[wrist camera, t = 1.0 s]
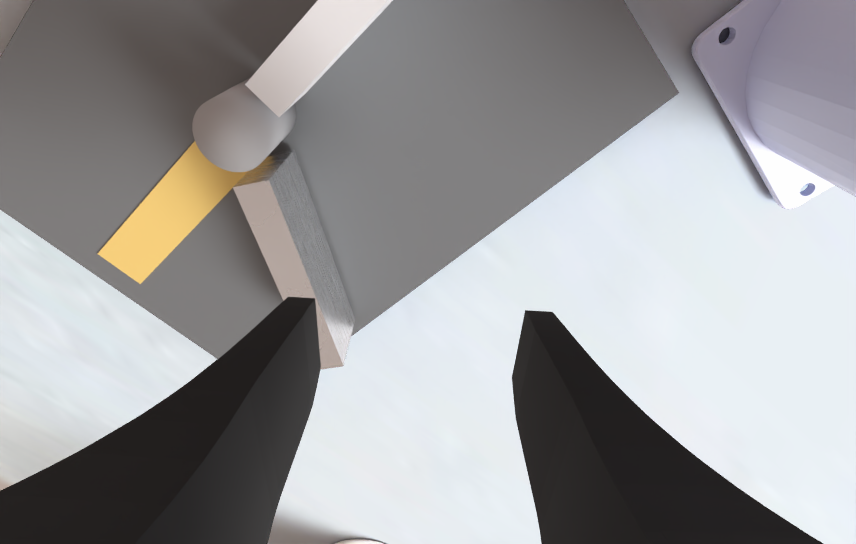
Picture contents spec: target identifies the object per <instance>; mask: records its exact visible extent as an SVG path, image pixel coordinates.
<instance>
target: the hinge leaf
mask: <svg viewBox="0 0 856 544" xmlns="http://www.w3.org/2000/svg"><path fill="white" fill-rule="evenodd" d="M233 189H234V191H235V194H236V196H237V198H238V200H239V203H240V205H241V207H242V209H243V211H244V214H245V216H246V218H247V220H248V223H249V225H250V227H251V229H252V232H253V234H254V236H255V238H256V241H257V243H258V245H259V247H260V250H261V252H262V254H263V256H264V258H265V261H266V263H267V265H268V267H269V270H270V272H271V274H272V276H273V279H274V281H275V283H276V285H277V288H278V290H279V292H280V294H281V297H282V299H283V301H284V300H285V299H286V298H287V297H302V298H315V302H316V314H317V326H318V338H319V350H320V362H321V368H320V369H327V368H334V367H341V366H344V362H345V358H346V354H347V350H348V346H349V342H350V338H351V334H352V330H353V326H354V322H355V317H354V315H353V312H352V309H351V306H350V303H349V301H348V298H347V295H346V292H345V290H344V287H343V284H342V281H341V279H340V276H339V273H338V270H337V267H336V265H335V262H334V259H333V256H332V254H331V251H330V248H329V245H328V243H327V240H326V237H325V234H324V231H323V229H322V226H321V223H320V220H319V218H318V215H317V212H316V209H315V207H314V204H313V201H312V198H311V195H310V193H309V190H308V187H307V184H306V182H305V179H304V176H303V173H302V171H301V168H300V165H299V162H298V159H297V157H296V154H295V151H294V150H290V151H286V152H281V153H276V154H271V155H268V156H267V157H266V158H265V159H264V160H263V161H262V163H261V164H259V165H258V166H257V167H256V168H254V169H252V170H250V171H248V172H247V173H246V174H245V175H244V176H243V177H242V178H241V179H240V180H239V181H238V182H237V183H236V185H235V186H234V187H233Z"/></svg>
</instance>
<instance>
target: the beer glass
mask: <svg viewBox="0 0 856 544" xmlns="http://www.w3.org/2000/svg"><path fill="white" fill-rule="evenodd" d="M334 544H384V543H381V542H378V541H373V540H366V539H350V540H344V541H340V542H337V543H334Z"/></svg>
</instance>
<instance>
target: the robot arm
mask: <svg viewBox="0 0 856 544" xmlns="http://www.w3.org/2000/svg"><path fill="white" fill-rule="evenodd" d="M727 27H728V28H729V31H730V34H729V37H728V38H727V40H726V41H725V42H723V43H719V35H720V33H721V32H722V30H723V29H725V28H727ZM692 55H693V58H694V59H695V61H696V63H697V65H698V67H699V68H700V70H701V72H702V74H703V75H704V77H705V79H706V81H707V82H708V84H709V86H710V88H711V89H712V91H713V93H714V95H715V96H716V98H717V100H718V102H719V103H720V105H721V107H722V109H723V111H724V112H725V114H726V116H727V118H728V119H729V121H730V123H731V125H732V126H733V128H734V130H735V132H736V133H737V135H738V137H739V139H740V140H741V142H742V144H743V146H744V148H745V149H746V151H747V153H748V155H749V156H750V158H751V160H752V162H753V163H754V165H755V167H756V169H757V170H758V172H759V174H760V176H761V177H762V179H763V181H764V183H765V185H766V186H767V188H768V190H769V192H770V193H771V195H772V197H773V199H774V200H775V202H776V203H777V204H778V205H779V206H781V207H782V208H784V209H793V208H796V207H798V206H800V205H801V204H803V203H805V202H807V201H808V200H810V199H812V198H813V197H815V196H817V195H818V194H820V193H822V192H823V191H825V190H827V189H828V188H830V187H832V186H834V185H835V186H837V187H839V188H841V189H842V190H844V191H846V192H848V193H850V194H852V195H854V196H855V197H856V0H743V1H742V2H741V3H739V4H738V5H737V6H735V7H734V8H733V9H732V10H730V11H729V12H728V13H726V14H725V15H724V16H723V17H721V18H720V19H719V20H717V21H716V22H715V23H713V24H712V25H711V26H710V27H708V28H707V29H706V30H704V31H703V32H702V33H701V34H700V35H699V36H698V37H697V38H696V39H695V41H694V43H693V45H692ZM808 183H809V185H808V187H807V188H806V189H805V190H804V191H801V192H800V190H801V188H802V187H803V186H804V185H805V184H808ZM320 368H321V362H320V350H319V338H318V326H317V314H316V302H315V298H302V297H287V298H286V299H285V300H284V301H283V302H282V303H280V304H279V305H278V306H277V307H276V308H275V309H274V310H273V311H272V312H271V313H269V314H268V315H267V316H266V317H265V318H264V319H263V320H262V321H261V322H260V323H259V324H258V325H256V326H255V327H254V328H253V329H252V330H251V331H250V332H249V333H248V334H247V335H245V336H244V337H243V338H242V339H241V340H240V341H238V342H237V343H236V344H235V345H234V346H233V347H232V348H230V349H229V350H228V351H227V352H226V353H225V354H224V355H222V356H221V357H220V358H219V359H218V360H216V361H215V362H214V363H212V364H211V365H210V366H209V367H207V368H206V369H205V370H204V371H202V372H201V373H200V374H199V375H197V376H196V377H195V378H194V379H192V380H191V381H190V382H188V383H187V384H186V385H184V386H183V387H182V388H180V389H179V390H177V391H176V392H174V393H173V394H172V395H170V396H169V397H167V398H166V399H164V400H163V401H161V402H160V403H158V404H157V405H155V406H154V407H152V408H151V409H149V410H148V411H146V412H145V413H143V414H142V415H140V416H138V417H137V418H135V419H134V420H132V421H130V422H129V423H127V424H125V425H123V426H122V427H120V428H118V429H117V430H115V431H113V432H111V433H110V434H108V435H106V436H105V437H103V438H101V439H99V440H98V441H96V442H94V443H93V444H91V445H89V446H87V447H86V448H84V449H82V450H80V451H78V452H77V453H75V454H73V455H71V456H69V457H67V458H65V459H63V460H61V461H60V462H58V463H56V464H54V465H52V466H50V467H48V468H46V469H44V470H42V471H40V472H38V473H36V474H34V475H32V476H30V477H28V478H26V479H24V480H22V481H20V482H18V483H16V484H14V485H12V486H9V487H7V488H5V489H3V490H1V491H0V544H267V543H268V539H269V535H270V531H271V527H272V523H273V519H274V516H275V513H276V509H277V506H278V503H279V500H280V496H281V494H282V491H283V488H284V485H285V482H286V480H287V477H288V474H289V471H290V468H291V465H292V463H293V460H294V457H295V454H296V451H297V449H298V446H299V443H300V440H301V437H302V434H303V432H304V429H305V426H306V423H307V420H308V417H309V414H310V411H311V408H312V405H313V401H314V396H315V392H316V388H317V383H318V378H319V373H320ZM512 382H513V394H514V404H515V414H516V421H517V425H518V430H519V435H520V439H521V444H522V449H523V453H524V458H525V462H526V467H527V471H528V476H529V480H530V484H531V489H532V493H533V498H534V502H535V507H536V511H537V517H538V523H539V528H540V534H541V542H542V544H823V543H821V542H820V541H818V540H816V539H815V538H813V537H811V536H810V535H808V534H807V533H805V532H803V531H802V530H800V529H799V528H797V527H796V526H794V525H793V524H791V523H790V522H788V521H786V520H785V519H783V518H782V517H780V516H779V515H777V514H776V513H774V512H773V511H771V510H770V509H768V508H766V507H765V506H763V505H762V504H761V503H759V502H758V501H756V500H755V499H753V498H752V497H750V496H749V495H747V494H746V493H745V492H743V491H742V490H740V489H739V488H737V487H736V486H735V485H733V484H732V483H731V482H729V481H728V480H727V479H725V478H724V477H723V476H721V475H720V474H718V473H717V472H716V471H714V470H713V469H712V468H710V467H709V466H708V465H706V464H705V463H704V462H702V461H701V460H700V459H699V458H697V457H696V456H695V455H693V454H692V453H691V452H690V451H688V450H687V449H686V448H685V447H683V446H682V445H681V444H680V443H679V442H678V441H676V440H675V439H674V438H673V437H672V436H671V435H669V434H668V433H667V432H666V431H665V430H663V429H662V428H661V427H660V426H659V425H658V424H656V423H655V422H654V421H653V420H652V419H651V418H650V417H649V416H648V415H647V414H645V413H644V412H643V411H642V410H641V409H640V408H639V407H638V406H637V405H636V404H635V403H634V402H633V401H632V400H631V399H630V398H629V397H628V396H627V395H626V394H625V393H624V392H623V391H622V390H621V389H620V388H619V387H618V386H617V385H616V384H615V383H614V382H613V381H612V380H611V379H610V378H609V377H608V376H607V375H606V374H605V372H604V371H603V370H602V369H601V368H600V367H599V366H598V365H597V364H596V363H595V361H594V360H593V359H592V358H591V357H590V356H589V355H588V353H587V352H586V351H585V350H584V349H583V348H582V346H581V345H580V344H579V343H578V342H577V341H576V339H575V338H574V337H573V336H572V335H571V333H570V332H569V331H568V330H567V329H566V327H565V326H564V325H563V324H562V323H561V322H560V320H559V319H558V318H557V317H556V316H555V314H554V313H553V312H544V311H526V310H525V315H524V320H523V325H522V330H521V335H520V340H519V345H518V350H517V355H516V360H515V365H514V370H513V375H512Z"/></svg>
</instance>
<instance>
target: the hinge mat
mask: <svg viewBox="0 0 856 544" xmlns="http://www.w3.org/2000/svg"><path fill="white" fill-rule="evenodd" d="M678 93H679V92H678V90H677V89H676V87H675V85H674V84H673V82H672V80H671V79H670V77H669V75H668V74H667V72H666V70H665V69H664V67H663V65H662V64H661V62H660V60H659V59H658V57H657V55H656V54H655V52H654V50H653V49H652V47H651V45H650V44H649V42H648V40H647V39H646V37H645V35H644V34H643V32H642V30H641V29H640V27H639V25H638V24H637V22H636V20H635V19H634V17H633V15H632V14H631V12H630V10H629V9H628V7H627V5H626V4H625V2H624V0H33V2H32V4H31V6H30V7H29V9H28V11H27V12H26V14H25V16H24V18H23V19H22V21H21V23H20V24H19V26H18V28H17V30H16V31H15V33H14V35H13V37H12V38H11V40H10V42H9V43H8V45H7V47H6V49H5V50H4V52H3V54H2V55H1V57H0V210H2V211H3V212H5V213H6V214H8V215H9V216H11V217H12V218H14V219H15V220H16V221H18V222H19V223H21V224H22V225H24V226H25V227H27V228H28V229H30V230H31V231H32V232H34V233H35V234H37V235H38V236H40V237H41V238H43V239H44V240H46V241H47V242H48V243H50V244H51V245H53V246H54V247H56V248H57V249H59V250H60V251H62V252H63V253H64V254H66V255H67V256H69V257H70V258H72V259H73V260H75V261H76V262H78V263H79V264H80V265H82V266H83V267H85V268H86V269H88V270H89V271H91V272H92V273H93V274H95V275H96V276H98V277H99V278H101V279H102V280H104V281H105V282H107V283H108V284H109V285H111V286H112V287H114V288H115V289H117V290H118V291H120V292H121V293H123V294H124V295H125V296H127V297H128V298H130V299H131V300H133V301H134V302H136V303H137V304H139V305H140V306H141V307H143V308H144V309H146V310H147V311H149V312H150V313H152V314H153V315H155V316H156V317H157V318H159V319H160V320H162V321H163V322H165V323H166V324H168V325H169V326H171V327H172V328H173V329H175V330H176V331H178V332H179V333H181V334H182V335H184V336H185V337H187V338H188V339H189V340H191V341H192V342H194V343H195V344H197V345H198V346H200V347H201V348H203V349H204V350H205V351H207V352H208V353H210V354H211V355H213V356H214V357H216V358H217V359H219V358H220V357H221V356H222V355H224V354H225V353H226V352H227V351H228V350H229V349H230V348H232V347H233V346H234V345H235V344H236V343H237V342H238V341H240V340H241V339H242V338H243V337H244V336H245V335H247V334H248V333H249V332H250V331H251V330H252V329H253V328H254V327H255V326H256V325H258V324H259V323H260V322H261V321H262V320H263V319H264V318H265V317H266V316H267V315H268V314H269V313H271V312H272V311H273V310H274V309H275V308H276V307H277V306H278V305H279V304H280V303H282V302H283V299H282V297H281V294H280V292H279V290H278V288H277V285H276V283H275V281H274V279H273V276H272V274H271V272H270V270H269V267H268V265H267V263H266V261H265V258H264V256H263V254H262V252H261V250H260V247H259V245H258V243H257V241H256V238H255V236H254V234H253V232H252V229H251V227H250V225H249V223H248V220H247V218H246V216H245V214H244V211H243V209H242V207H241V205H240V203H239V200H238V198H237V196H236V194H235V191H234V189H233V187H234V186H235V185H236V183H237V182H238V181H239V180H240V179H241V178H242V177H243V176H244V175H245V174H246V173H247V172H248V171H250V170H252V169H254V168H256V167H257V166H258V165H259V164H261V163H262V161H263V160H264V159H265V158H266V157H267V156H268V155H271V154H276V153H281V152H286V151H290V150H294V151H295V154H296V157H297V159H298V162H299V165H300V168H301V171H302V173H303V176H304V179H305V182H306V184H307V187H308V190H309V193H310V195H311V198H312V201H313V204H314V207H315V209H316V212H317V215H318V218H319V220H320V223H321V226H322V229H323V231H324V234H325V237H326V240H327V243H328V245H329V248H330V251H331V254H332V256H333V259H334V262H335V265H336V267H337V270H338V273H339V276H340V279H341V281H342V284H343V287H344V290H345V292H346V295H347V298H348V301H349V303H350V306H351V309H352V312H353V315H354V317H355V322H354V326H353V330H352V334H351V336H352V335H354V334H355V333H356V332H358V331H359V330H360V329H362V328H363V327H364V326H366V325H367V324H368V323H370V322H371V321H372V320H374V319H375V318H377V317H378V316H379V315H381V314H382V313H383V312H385V311H386V310H387V309H389V308H390V307H391V306H393V305H394V304H395V303H397V302H398V301H399V300H401V299H402V298H403V297H405V296H406V295H407V294H409V293H410V292H412V291H413V290H414V289H416V288H417V287H418V286H420V285H421V284H422V283H424V282H425V281H426V280H428V279H429V278H430V277H432V276H433V275H434V274H436V273H437V272H438V271H440V270H441V269H442V268H444V267H445V266H447V265H448V264H449V263H451V262H452V261H453V260H455V259H456V258H457V257H459V256H460V255H461V254H463V253H464V252H465V251H467V250H468V249H469V248H471V247H472V246H473V245H475V244H476V243H478V242H479V241H480V240H482V239H483V238H484V237H486V236H487V235H488V234H490V233H491V232H492V231H494V230H495V229H496V228H498V227H499V226H500V225H502V224H503V223H504V222H506V221H507V220H508V219H510V218H511V217H513V216H514V215H515V214H517V213H518V212H519V211H521V210H522V209H523V208H525V207H526V206H527V205H529V204H530V203H531V202H533V201H534V200H535V199H537V198H538V197H539V196H541V195H542V194H543V193H545V192H546V191H548V190H549V189H550V188H552V187H553V186H554V185H556V184H557V183H558V182H560V181H561V180H562V179H564V178H565V177H566V176H568V175H569V174H570V173H572V172H573V171H574V170H576V169H577V168H578V167H580V166H581V165H583V164H584V163H585V162H587V161H588V160H589V159H591V158H592V157H593V156H595V155H596V154H597V153H599V152H600V151H601V150H603V149H604V148H605V147H607V146H608V145H609V144H611V143H612V142H613V141H615V140H616V139H618V138H619V137H620V136H622V135H623V134H624V133H626V132H627V131H628V130H630V129H631V128H632V127H634V126H635V125H636V124H638V123H639V122H640V121H642V120H643V119H644V118H646V117H647V116H649V115H650V114H651V113H653V112H654V111H655V110H657V109H658V108H659V107H661V106H662V105H663V104H665V103H666V102H667V101H669V100H670V99H671V98H673V97H674V96H675V95H677V94H678Z"/></svg>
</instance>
